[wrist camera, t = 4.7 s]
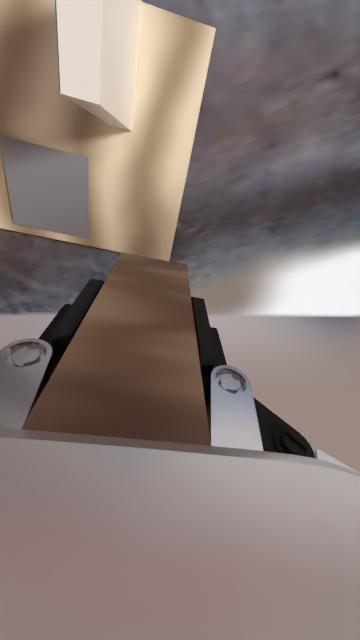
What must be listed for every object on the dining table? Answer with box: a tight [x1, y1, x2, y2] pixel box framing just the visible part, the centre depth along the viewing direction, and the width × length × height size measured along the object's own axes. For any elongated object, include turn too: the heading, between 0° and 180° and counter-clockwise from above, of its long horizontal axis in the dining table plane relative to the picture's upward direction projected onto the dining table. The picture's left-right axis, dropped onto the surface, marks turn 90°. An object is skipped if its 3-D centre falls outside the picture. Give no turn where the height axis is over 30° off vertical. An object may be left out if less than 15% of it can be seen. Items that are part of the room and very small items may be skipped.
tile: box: [55, 0, 142, 131], centre depth 15 cm, size 2×8×12 cm, turn 168°
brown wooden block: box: [21, 252, 211, 446], centre depth 8 cm, size 4×4×12 cm
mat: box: [0, 135, 88, 238], centre depth 25 cm, size 8×8×1 cm
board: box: [0, 0, 216, 261], centre depth 23 cm, size 20×20×1 cm
